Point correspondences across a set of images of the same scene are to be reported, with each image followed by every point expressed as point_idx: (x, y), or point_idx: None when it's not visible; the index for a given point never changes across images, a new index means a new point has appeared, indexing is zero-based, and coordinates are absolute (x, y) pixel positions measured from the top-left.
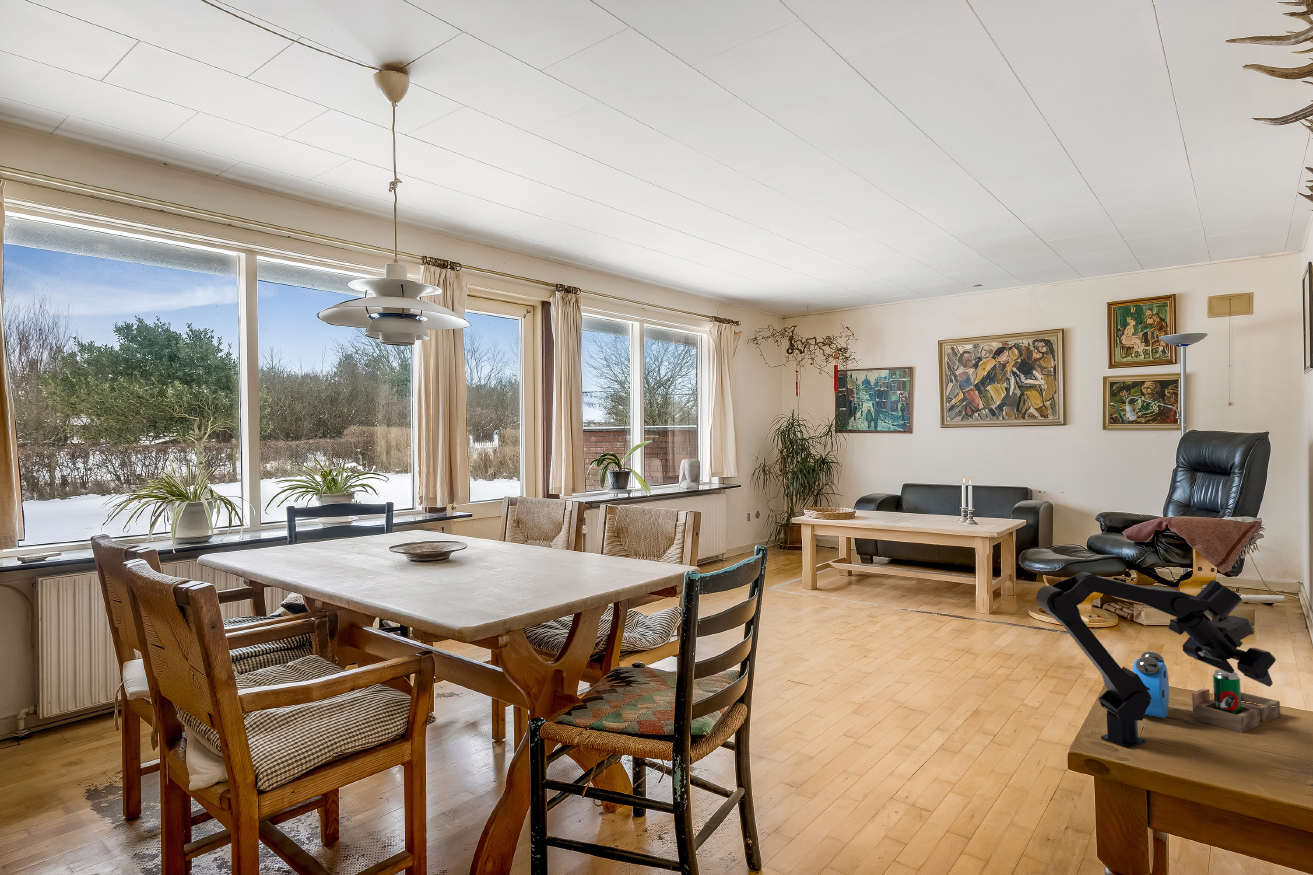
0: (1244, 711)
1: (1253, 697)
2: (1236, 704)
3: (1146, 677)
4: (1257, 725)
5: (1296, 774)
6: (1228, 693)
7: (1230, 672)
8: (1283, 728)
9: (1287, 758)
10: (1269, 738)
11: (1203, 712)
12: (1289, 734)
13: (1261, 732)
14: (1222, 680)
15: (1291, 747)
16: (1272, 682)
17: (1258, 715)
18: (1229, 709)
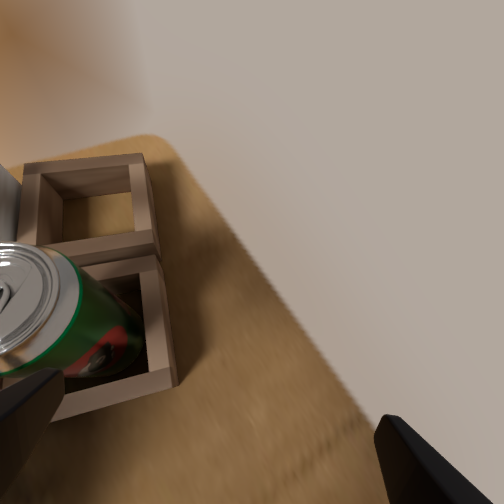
0: (123, 280)
1: (83, 171)
2: (122, 339)
3: None
4: (165, 287)
5: None
6: (84, 360)
7: (51, 413)
8: (204, 248)
9: (357, 456)
10: (237, 349)
11: None
12: (235, 274)
13: (200, 326)
14: (19, 371)
15: (299, 358)
16: (406, 424)
17: (159, 270)
18: (112, 363)
